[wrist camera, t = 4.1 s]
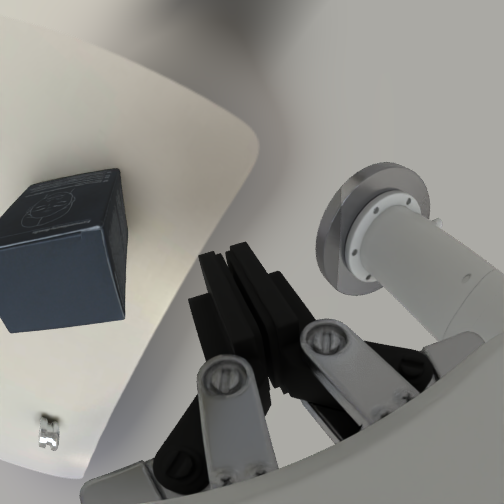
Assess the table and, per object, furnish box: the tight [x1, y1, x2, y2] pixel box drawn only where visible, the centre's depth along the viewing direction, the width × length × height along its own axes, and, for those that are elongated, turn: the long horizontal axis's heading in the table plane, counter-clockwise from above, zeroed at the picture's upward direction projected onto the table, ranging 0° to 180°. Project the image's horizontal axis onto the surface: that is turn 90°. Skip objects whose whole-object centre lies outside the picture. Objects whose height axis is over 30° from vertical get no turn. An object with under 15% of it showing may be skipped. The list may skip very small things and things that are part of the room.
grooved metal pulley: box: [39, 417, 59, 451], centre depth 29 cm, size 5×3×5 cm, turn 141°
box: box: [0, 168, 128, 333], centre depth 16 cm, size 8×6×11 cm
